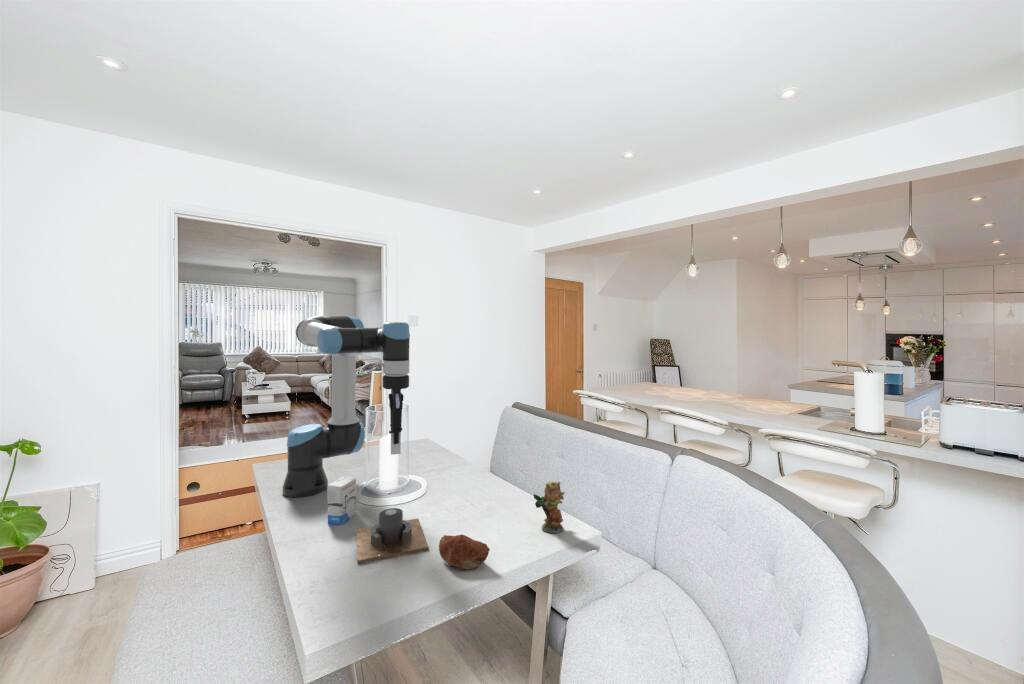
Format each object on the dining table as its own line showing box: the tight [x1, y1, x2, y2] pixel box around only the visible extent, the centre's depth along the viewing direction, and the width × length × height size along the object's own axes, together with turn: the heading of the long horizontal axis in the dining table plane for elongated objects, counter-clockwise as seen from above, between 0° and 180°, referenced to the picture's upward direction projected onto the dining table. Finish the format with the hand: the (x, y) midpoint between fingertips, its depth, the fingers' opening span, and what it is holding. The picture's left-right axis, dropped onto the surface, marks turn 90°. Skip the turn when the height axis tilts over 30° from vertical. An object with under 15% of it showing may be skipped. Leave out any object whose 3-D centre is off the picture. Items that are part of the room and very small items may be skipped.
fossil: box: [438, 534, 491, 570], centre depth 107 cm, size 13×8×10 cm
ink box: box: [326, 476, 357, 525], centre depth 131 cm, size 9×5×12 cm, turn 168°
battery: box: [378, 507, 404, 543], centre depth 117 cm, size 6×6×7 cm
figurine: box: [533, 480, 566, 534], centre depth 124 cm, size 9×8×15 cm
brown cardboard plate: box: [356, 518, 430, 565], centre depth 117 cm, size 18×18×4 cm
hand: (395, 453), depth 123 cm, fingers closed
